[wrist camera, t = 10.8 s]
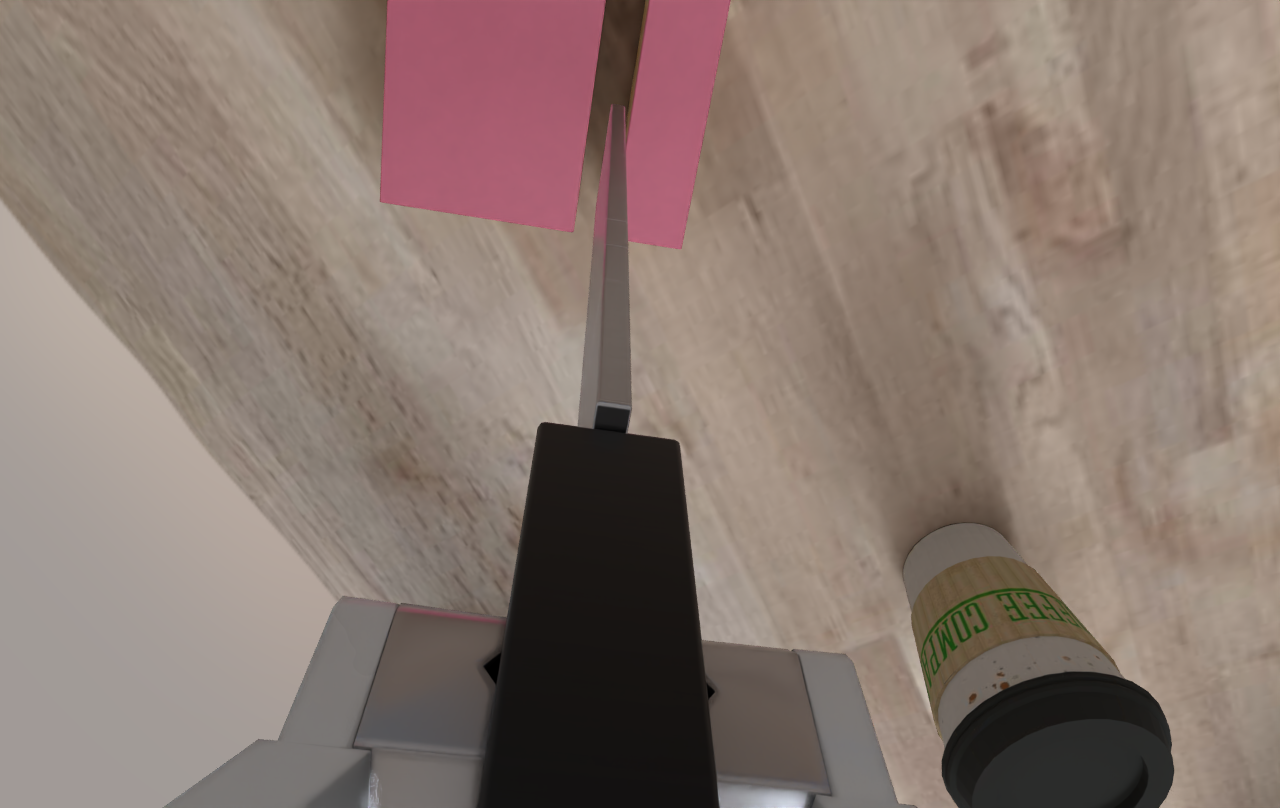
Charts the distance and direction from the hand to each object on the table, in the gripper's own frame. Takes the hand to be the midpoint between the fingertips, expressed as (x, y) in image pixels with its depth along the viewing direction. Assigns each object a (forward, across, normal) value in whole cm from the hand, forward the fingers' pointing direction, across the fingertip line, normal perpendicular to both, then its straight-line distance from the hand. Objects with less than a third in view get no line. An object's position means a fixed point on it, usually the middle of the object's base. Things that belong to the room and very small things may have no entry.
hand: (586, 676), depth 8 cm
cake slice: (+35, -2, 0) cm, 35 cm away
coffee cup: (+35, -23, +23) cm, 48 cm away
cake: (+35, +5, 0) cm, 35 cm away
